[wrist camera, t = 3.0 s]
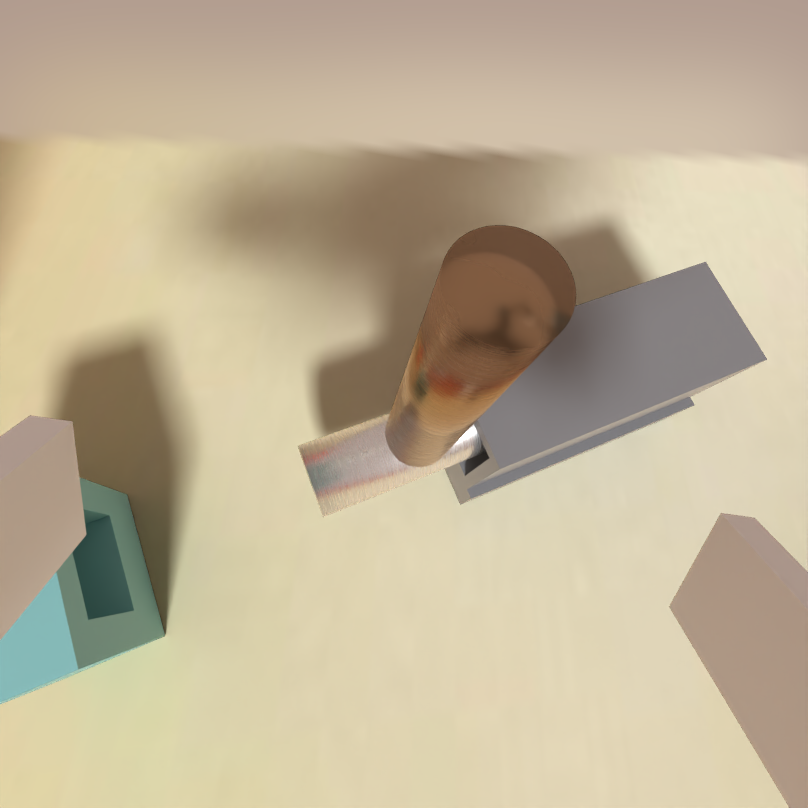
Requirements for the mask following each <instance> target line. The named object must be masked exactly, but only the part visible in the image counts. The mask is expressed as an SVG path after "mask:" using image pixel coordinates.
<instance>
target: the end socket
mask: <svg viewBox="0 0 808 808" xmlns="http://www.w3.org/2000/svg"><path fill="white" fill-rule="evenodd" d="M79 478H80V477H79ZM80 486H81V494H82V502H83V511H84V519H85V527H86V536H85V537H84V538H83V540H82V541H81V542H80V543H79V544H78V546H77V547H76V548H75V549H74V551H73V552H72V553H71V554H70V555H69V557H68V558H67V559H66V560H65V562H64V563H63V564H62V565H61V567H60V568H59V569H58V570H57V571H56V573H55V574H54V575H53V576H52V578H51V579H50V580H49V581H48V582H47V584H46V585H45V586H44V587H43V589H42V590H41V591H40V592H39V593H38V595H37V596H36V597H35V598H34V600H33V601H32V602H31V603H30V604H29V606H28V607H27V608H26V609H25V611H24V612H23V613H22V614H21V616H20V617H19V618H18V619H17V620H16V622H15V623H14V624H13V625H12V627H11V628H10V629H9V630H8V631H7V633H6V634H5V635H4V636H3V638H2V639H1V640H0V704H2V703H5V702H7V701H10V700H12V699H15V698H17V697H20V696H22V695H25V694H27V693H30V692H32V691H35V690H37V689H40V688H42V687H45V686H47V685H50V684H52V683H55V682H57V681H60V680H62V679H64V678H67V677H69V676H72V675H74V674H76V673H79V672H81V671H83V670H86V669H88V668H90V667H93V666H95V665H98V664H100V663H102V662H105V661H107V660H109V659H112V658H114V657H116V656H119V655H121V654H123V653H126V652H128V651H131V650H133V649H135V648H138V647H140V646H142V645H145V644H147V643H149V642H152V641H154V640H157V639H159V638H161V637H164V636H165V633H164V630H163V626H162V622H161V618H160V615H159V611H158V607H157V604H156V600H155V596H154V592H153V589H152V585H151V581H150V578H149V574H148V570H147V566H146V563H145V559H144V555H143V552H142V548H141V544H140V540H139V537H138V533H137V529H136V526H135V522H134V518H133V514H132V511H131V507H130V503H129V500H128V496H127V494H124V493H121V492H119V491H116V490H113V489H110V488H108V487H105V486H102V485H99V484H97V483H94V482H91V481H88V480H86V479H83V478H80Z"/></svg>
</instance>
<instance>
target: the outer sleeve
mask: <svg viewBox="0 0 808 808" xmlns="http://www.w3.org/2000/svg"><path fill="white" fill-rule="evenodd" d="M765 360H767V358H766V357H765V355H764V354H763V352H762V351H761V349H760V347H759V346H758V344H757V343H756V341H755V339H754V338H753V336H752V335H751V333H750V332H749V330H748V328H747V327H746V325H745V324H744V322H743V320H742V319H741V317H740V316H739V314H738V312H737V311H736V309H735V308H734V306H733V305H732V303H731V301H730V300H729V298H728V297H727V295H726V293H725V292H724V290H723V289H722V287H721V286H720V284H719V282H718V281H717V279H716V278H715V276H714V274H713V273H712V271H711V270H710V268H709V267H708V265H707V263H706V262H704V263H701V264H698V265H695V266H692V267H689V268H686V269H683V270H680V271H677V272H674V273H671V274H668V275H665V276H662V277H659V278H657V279H654V280H651V281H648V282H645V283H642V284H639V285H636V286H633V287H630V288H627V289H624V290H621V291H618V292H615V293H612V294H609V295H607V296H604V297H601V298H598V299H595V300H592V301H589V302H586V303H583V304H580V305H577V306H575V308H574V312H573V315H572V317H571V319H570V321H569V323H568V324H567V326H566V327H565V328H564V329H563V331H562V332H561V333H560V334H559V335H558V336H557V337H556V338H555V339H554V340H553V341H552V342H551V343H550V344H549V345H548V346H547V348H546V349H545V350H544V351H543V352H542V353H541V354H540V355H539V356H538V357H537V358H536V359H535V360H534V361H533V362H532V363H531V364H530V365H529V366H528V368H527V369H526V370H525V371H524V372H523V373H522V374H521V375H520V376H519V377H518V378H517V379H516V380H515V381H514V382H513V383H512V384H511V385H510V387H509V388H508V389H507V390H506V391H505V392H504V393H503V394H502V395H501V396H500V397H499V398H498V399H497V400H496V401H495V402H494V403H493V404H492V405H491V407H490V408H489V409H488V410H487V411H486V412H485V413H484V414H483V415H482V416H481V417H480V418H479V419H478V420H477V421H476V422H475V423H474V426H475V428H476V430H477V432H478V434H479V437H480V439H481V441H482V443H483V445H484V448H485V450H486V452H485V453H482V454H480V455H477V456H475V457H472V458H470V459H467V460H465V461H462V462H460V463H457V464H455V465H452V466H450V467H447V468H445V470H446V473H447V475H448V477H449V479H450V482H451V484H452V486H453V489H454V491H455V493H456V496H457V498H458V500H459V503H460V504H463V503H465V502H468V501H470V500H472V499H475V498H477V497H479V496H482V495H484V494H487V493H489V492H491V491H494V490H496V489H498V488H501V487H503V486H506V485H508V484H510V483H513V482H515V481H517V480H520V479H522V478H525V477H527V476H529V475H532V474H534V473H536V472H539V471H541V470H544V469H546V468H548V467H551V466H553V465H556V464H558V463H560V462H563V461H565V460H567V459H570V458H572V457H575V456H577V455H579V454H582V453H584V452H586V451H589V450H591V449H594V448H596V447H598V446H601V445H603V444H605V443H608V442H610V441H613V440H615V439H617V438H620V437H622V436H624V435H627V434H629V433H632V432H634V431H636V430H639V429H641V428H643V427H646V426H648V425H651V424H653V423H655V422H658V421H660V420H663V419H665V418H667V417H670V416H672V415H674V414H676V413H678V412H680V411H683V410H685V409H687V408H689V407H691V406H694V403H693V401H692V400H691V398H690V397H691V396H693V395H695V394H697V393H699V392H701V391H703V390H705V389H707V388H709V387H711V386H714V385H716V384H718V383H720V382H722V381H724V380H726V379H728V378H730V377H732V376H734V375H736V374H738V373H740V372H742V371H744V370H746V369H748V368H750V367H752V366H755V365H757V364H759V363H761V362H763V361H765Z"/></svg>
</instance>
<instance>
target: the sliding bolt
mask: <svg viewBox="0 0 808 808" xmlns="http://www.w3.org/2000/svg"><path fill="white" fill-rule="evenodd" d="M575 303H576V288H575V283H574V279H573V276H572V273H571V271H570V269H569V267H568V265H567V263H566V262H565V260H564V259H563V257H562V256H561V255H560V254H559V252H558V251H557V250H556V249H555V248H554V247H553V246H551V245H550V244H549V243H548V242H546V241H545V240H544V239H542V238H540V237H539V236H537V235H535V234H533V233H531V232H529V231H526V230H523V229H520V228H516V227H512V226H503V225H495V226H486V227H482V228H478V229H475V230H473V231H471V232H469V233H467V234H465V235H464V236H462V237H461V238H459V239H458V240H457V241H456V242H455V243H454V244H453V245H452V247H451V248H450V249H449V251H448V252H447V254H446V256H445V258H444V261H443V264H442V267H441V269H440V272H439V275H438V278H437V281H436V284H435V287H434V289H433V292H432V295H431V298H430V301H429V304H428V307H427V309H426V312H425V315H424V318H423V321H422V324H421V327H420V329H419V332H418V335H417V338H416V341H415V344H414V347H413V349H412V352H411V355H410V358H409V361H408V364H407V367H406V369H405V372H404V375H403V378H402V381H401V384H400V387H399V389H398V392H397V395H396V398H395V401H394V404H393V407H392V409H391V412H390V413H387V414H385V415H382V416H379V417H376V418H374V419H371V420H368V421H365V422H362V423H360V424H357V425H354V426H351V427H349V428H346V429H343V430H340V431H338V432H335V433H332V434H329V435H326V436H324V437H321V438H318V439H315V440H313V441H310V442H307V443H304V444H302V445H299V446H298V449H299V452H300V455H301V458H302V460H303V463H304V466H305V469H306V472H307V474H308V477H309V480H310V483H311V486H312V488H313V491H314V494H315V497H316V499H317V502H318V505H319V507H320V510H321V513H322V515H323V517H324V516H327V515H329V514H332V513H335V512H337V511H340V510H342V509H345V508H347V507H350V506H352V505H355V504H357V503H360V502H362V501H365V500H367V499H370V498H372V497H375V496H377V495H380V494H382V493H385V492H387V491H390V490H392V489H395V488H397V487H400V486H402V485H405V484H407V483H410V482H412V481H415V480H417V479H420V478H422V477H425V476H427V475H430V474H432V473H435V472H437V471H440V470H442V469H445V468H447V467H450V466H452V465H455V464H457V463H460V462H462V461H465V460H467V459H470V458H472V457H475V456H477V455H480V454H482V453H485V452H486V450H485V448H484V445H483V443H482V441H481V439H480V437H479V434H478V432H477V430H476V428H475V426H474V423H475V422H476V421H477V420H478V419H479V418H480V417H481V416H482V415H483V414H484V413H485V412H486V411H487V410H488V409H489V408H490V407H491V405H492V404H493V403H494V402H495V401H496V400H497V399H498V398H499V397H500V396H501V395H502V394H503V393H504V392H505V391H506V390H507V389H508V388H509V387H510V385H511V384H512V383H513V382H514V381H515V380H516V379H517V378H518V377H519V376H520V375H521V374H522V373H523V372H524V371H525V370H526V369H527V368H528V366H529V365H530V364H531V363H532V362H533V361H534V360H535V359H536V358H537V357H538V356H539V355H540V354H541V353H542V352H543V351H544V350H545V349H546V348H547V346H548V345H549V344H550V343H551V342H552V341H553V340H554V339H555V338H556V337H557V336H558V335H559V334H560V333H561V332H562V331H563V329H564V328H565V327H566V326H567V324H568V323H569V321H570V319H571V317H572V315H573V312H574V308H575Z"/></svg>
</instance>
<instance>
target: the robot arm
mask: <svg viewBox="0 0 808 808" xmlns="http://www.w3.org/2000/svg"><path fill="white" fill-rule="evenodd" d="M85 536H86V527H85V519H84V511H83V502H82V494H81V486H80V478H79V470H78V462H77V454H76V446H75V437H74V429H73V421H66V420H59V419H52V418H45V417H38V416H31V415H30V416H28V417H27V418H26V419H24V420H23V421H21V422H20V423H19V424H17V425H16V426H14V427H13V428H12V429H10V430H9V431H7V432H6V433H5V434H3V435H2V436H0V640H1V639H2V638H3V636H4V635H5V634H6V633H7V631H8V630H9V629H10V628H11V627H12V625H13V624H14V623H15V622H16V620H17V619H18V618H19V617H20V616H21V614H22V613H23V612H24V611H25V609H26V608H27V607H28V606H29V604H30V603H31V602H32V601H33V600H34V598H35V597H36V596H37V595H38V593H39V592H40V591H41V590H42V589H43V587H44V586H45V585H46V584H47V582H48V581H49V580H50V579H51V578H52V576H53V575H54V574H55V573H56V571H57V570H58V569H59V568H60V567H61V565H62V564H63V563H64V562H65V560H66V559H67V558H68V557H69V555H70V554H71V553H72V552H73V551H74V549H75V548H76V547H77V546H78V544H79V543H80V542H81V541H82V540H83V538H84V537H85ZM669 607H670V609H671V611H672V612H673V614H674V616H675V617H676V619H677V621H678V622H679V624H680V626H681V627H682V629H683V631H684V632H685V634H686V636H687V637H688V639H689V641H690V642H691V644H692V646H693V647H694V649H695V651H696V652H697V654H698V656H699V657H700V659H701V661H702V662H703V664H704V666H705V667H706V669H707V671H708V672H709V674H710V676H711V677H712V679H713V681H714V682H715V684H716V686H717V687H718V689H719V691H720V693H721V694H722V696H723V698H724V699H725V701H726V703H727V704H728V706H729V708H730V709H731V711H732V713H733V714H734V716H735V718H736V719H737V721H738V723H739V724H740V726H741V728H742V729H743V731H744V733H745V734H746V736H747V738H748V739H749V741H750V743H751V744H752V746H753V748H754V749H755V751H756V753H757V754H758V756H759V758H760V759H761V761H762V763H763V764H764V766H765V768H766V769H767V771H768V773H769V774H770V776H771V778H772V779H773V781H774V783H775V784H776V786H777V788H778V789H779V791H780V793H781V794H782V796H783V798H784V799H785V801H786V803H787V804H788V806H789V808H808V572H807V571H806V570H805V569H804V568H803V567H802V566H801V565H800V564H799V563H798V562H797V561H796V560H795V559H794V558H793V557H792V556H791V555H790V553H789V552H788V551H787V550H786V549H785V548H784V547H783V546H782V545H781V544H780V543H779V542H778V541H777V540H776V539H775V538H774V537H773V536H772V535H771V534H770V533H769V532H768V531H767V530H766V529H765V528H764V527H763V526H762V525H761V524H760V523H759V522H758V521H757V520H756V519H755V518H752V517H745V516H738V515H731V514H724V513H721V514H720V516H719V518H718V519H717V521H716V523H715V525H714V527H713V528H712V530H711V532H710V534H709V536H708V537H707V539H706V541H705V543H704V545H703V546H702V548H701V550H700V552H699V554H698V555H697V557H696V559H695V561H694V563H693V564H692V566H691V568H690V570H689V572H688V574H687V575H686V577H685V579H684V581H683V583H682V584H681V586H680V588H679V590H678V592H677V593H676V595H675V597H674V599H673V601H672V602H671V604H670V606H669Z"/></svg>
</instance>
